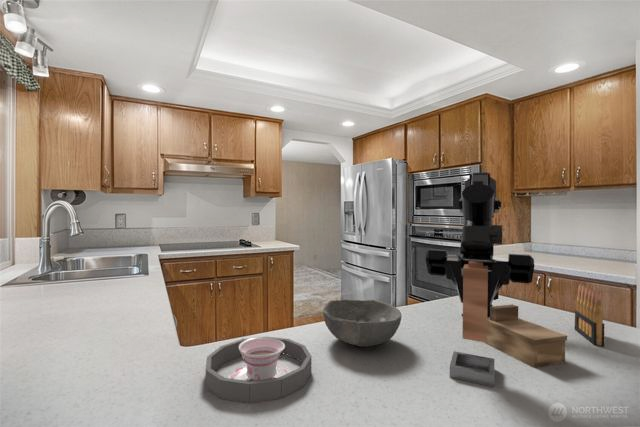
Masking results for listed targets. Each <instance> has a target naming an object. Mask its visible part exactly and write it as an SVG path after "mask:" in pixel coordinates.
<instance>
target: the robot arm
mask: <svg viewBox="0 0 640 427" xmlns="http://www.w3.org/2000/svg"><path fill="white" fill-rule="evenodd" d="M463 188H464V189H463V190H462V191H461V197H460V198H459V201H458V209H459V213H460V214H462V217H463V226H462V233H461V234H462V235H461V236H462V237H461V241H460V248H459V253H460V255H461V256H460V255H457V254H449V253H448V250H447V249H433V248H430V249H428V250H427V251H426V252H425V264H426V270H427V273H428V274H429V275H430V276H431V275H432V276H440V277H444V276H445V277H446V279H447V280H451V281H452V283H453V285H454V287H455V289H456V292H457V295H458V297H459V300H460V303H462V304H463V271H462V270H463V267H464V265H465V264H467V265H468V263H469V261H475V262H483V266H488V307H487V318H488V317H490V307H491V306H494V305H493V304H492V303H493V301H496V300H499V294H500V293H499V290H500V289H501V288H502V287H503V286H504V285H505V286H508V285H509V284H510V282H512V283H519V284H531V283H533V278H534V271H535V259H534V257H532V256H531V255H530V254H523V253H522V254H520V253H519V254H517V253H508V257H507V258H508V259H507V261H506V260H505V261H503V260H497V259H494V245H502V244H503V225H502V224H499V225H498V224H494V220H493V218H494V217H495V215H494V214H498V213H499V210H500V209H501V208H502V201H500V200H499V198H498V197H497V180H495V179H494V178H493V177H491V172H488V171H487V172H485V171H484V172H472V173H469V178H468V179H466V180H465V181H464V186H463ZM460 315H461V317H463V313H461V314H460Z"/></svg>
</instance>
